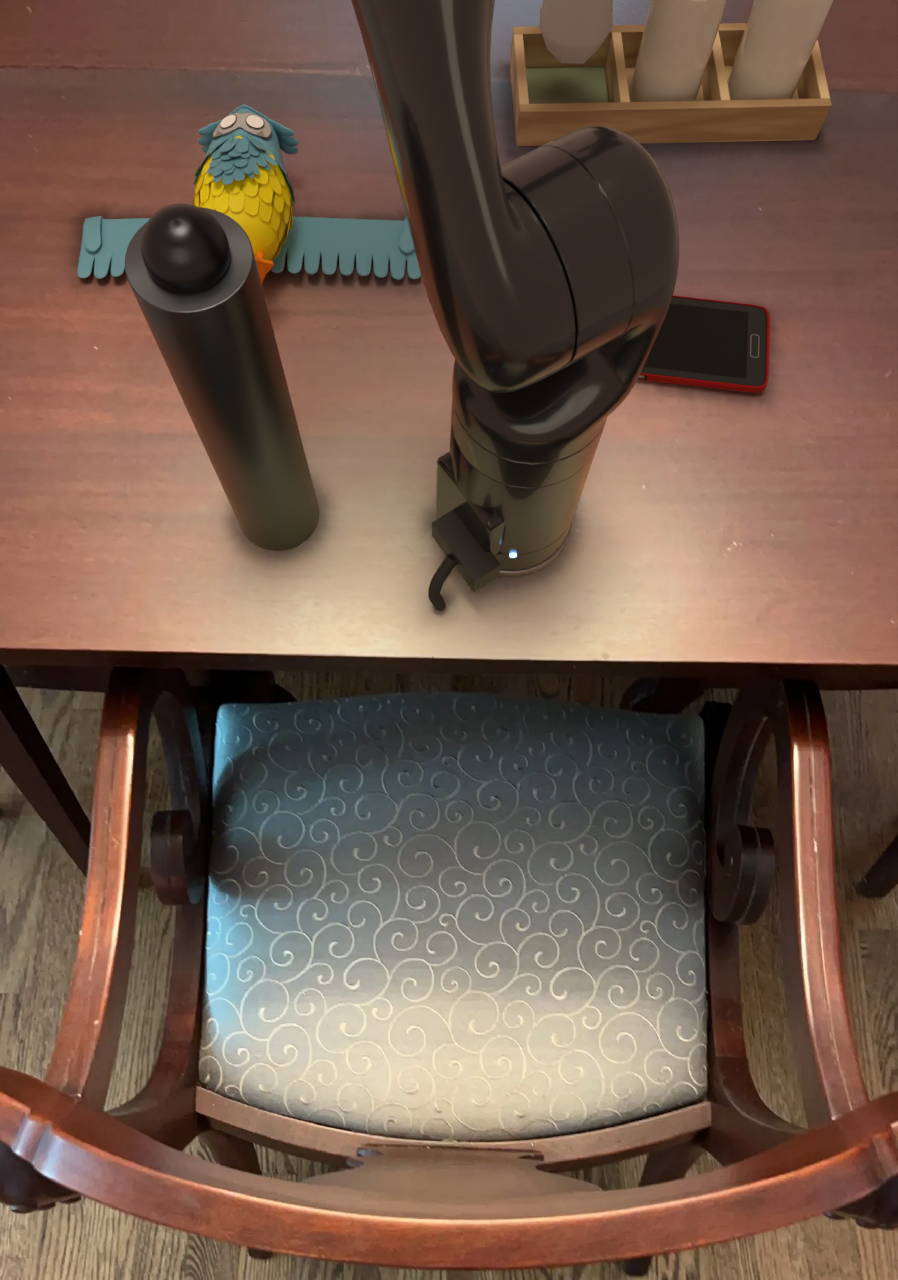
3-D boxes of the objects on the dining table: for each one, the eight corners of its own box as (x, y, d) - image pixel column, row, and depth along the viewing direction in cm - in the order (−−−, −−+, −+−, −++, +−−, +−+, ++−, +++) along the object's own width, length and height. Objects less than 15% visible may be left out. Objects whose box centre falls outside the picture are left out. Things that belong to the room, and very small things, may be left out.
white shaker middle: (655, 136, 82) (695, -7, 70) (614, 93, 84) (646, -55, 71) (707, 107, 83) (755, -39, 71) (666, 65, 85) (706, -86, 72)
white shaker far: (751, 134, 82) (808, -9, 70) (709, 91, 84) (757, -57, 71) (802, 105, 83) (867, -40, 71) (759, 63, 85) (815, -87, 72)
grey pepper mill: (265, 565, 70) (148, 298, 41) (224, 503, 72) (82, 204, 42) (334, 523, 71) (268, 235, 42) (292, 463, 73) (199, 145, 44)
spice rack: (813, 144, 83) (832, 105, 79) (515, 150, 82) (520, 111, 78) (796, 63, 86) (814, 21, 82) (509, 68, 85) (512, 26, 81)
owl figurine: (29, 240, 68) (55, 79, 73) (72, 318, 76) (93, 169, 81) (422, 241, 68) (421, 82, 73) (423, 319, 77) (422, 171, 82)
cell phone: (765, 396, 75) (769, 389, 74) (579, 374, 75) (581, 367, 74) (767, 313, 77) (771, 305, 76) (587, 292, 78) (589, 284, 77)
